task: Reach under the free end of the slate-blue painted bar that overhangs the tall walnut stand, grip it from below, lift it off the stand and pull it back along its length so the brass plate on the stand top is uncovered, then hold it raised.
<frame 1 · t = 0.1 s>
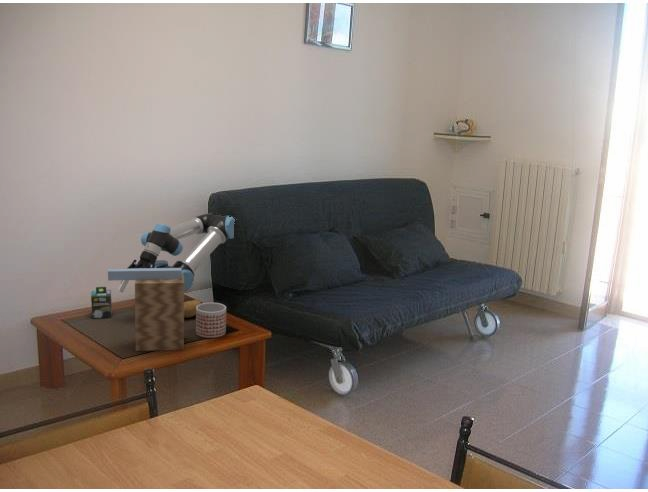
hand: (130, 294, 300), 15 cm above the table, tool tilted 35°, fingers open, 13 cm apart
potato: (189, 316, 320), on the table
stand: (160, 343, 284), on the table
planter: (210, 333, 300), on the table
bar: (145, 278, 276), point 30 cm above the table, touching stand
chalk box: (101, 315, 315), on the table
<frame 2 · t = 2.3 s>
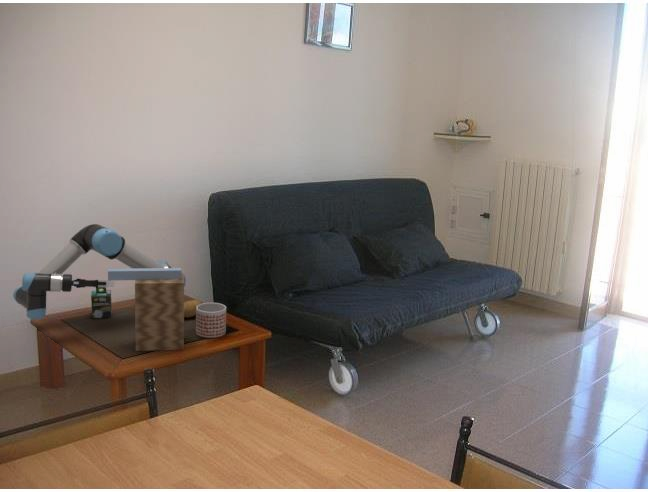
hand: (113, 284, 286), 24 cm above the table, tool horizontal, fingers open, 13 cm apart
nothing on the table moved.
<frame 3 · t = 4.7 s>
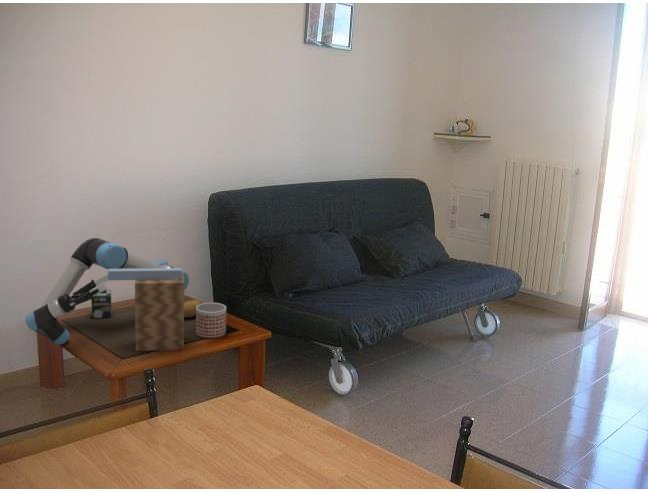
hand: (107, 280, 273), 29 cm above the table, tool pointing upward, fingers open, 13 cm apart
nothing on the table moved.
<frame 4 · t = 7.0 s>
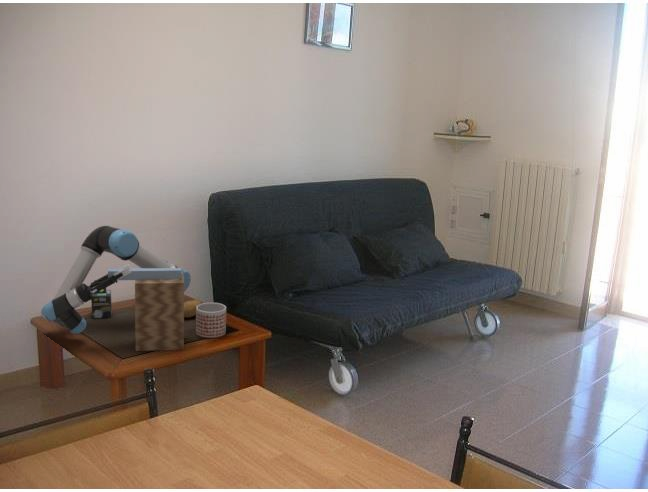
hand: (129, 268, 273), 35 cm above the table, tool pointing upward, fingers closed on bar, 4 cm apart
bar: (145, 278, 276), point 30 cm above the table, touching gripper, stand
everything else where it was.
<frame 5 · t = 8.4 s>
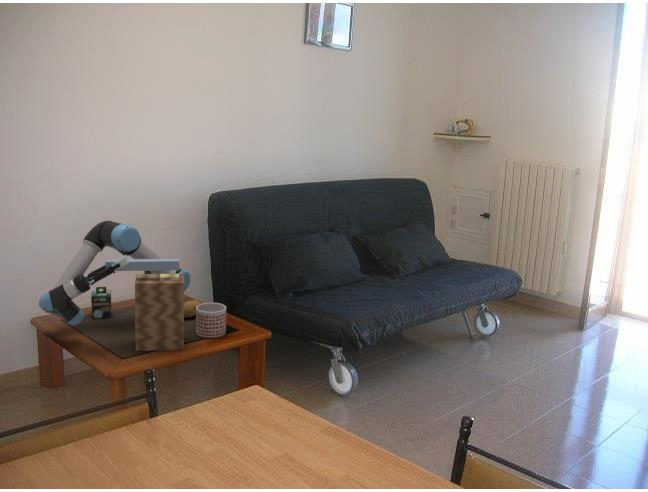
hand: (127, 258, 272), 39 cm above the table, tool pointing upward, fingers closed on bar, 4 cm apart
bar: (143, 269, 275), point 34 cm above the table, touching gripper
everything else where it was.
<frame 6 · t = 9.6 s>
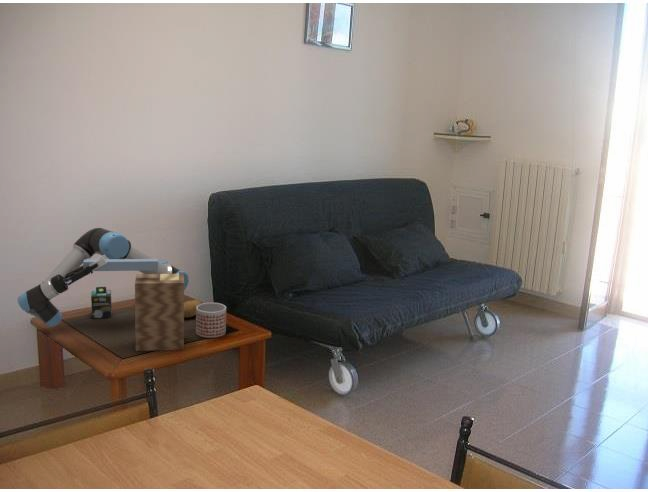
hand: (105, 258, 270), 39 cm above the table, tool pointing upward, fingers closed on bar, 4 cm apart
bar: (121, 269, 273), point 34 cm above the table, touching gripper
everything else where it was.
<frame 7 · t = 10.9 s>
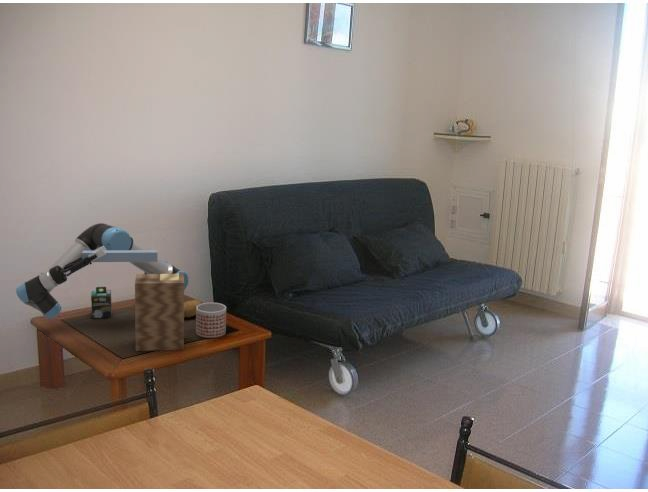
hand: (104, 250, 269), 43 cm above the table, tool pointing upward, fingers closed on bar, 4 cm apart
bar: (120, 260, 272), point 38 cm above the table, touching gripper
everything else where it was.
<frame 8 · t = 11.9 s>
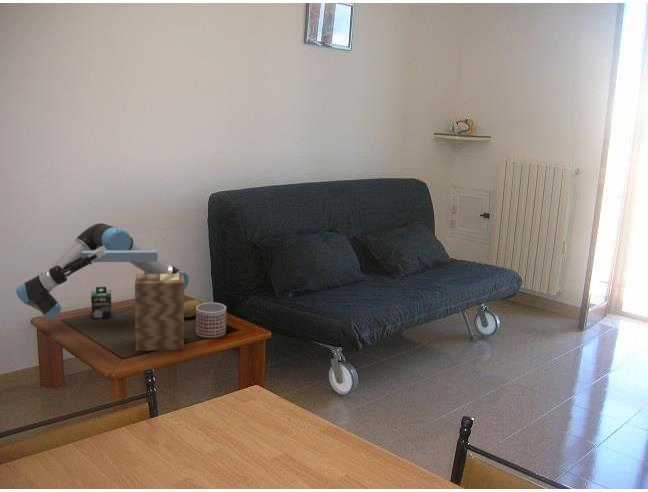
hand: (104, 250, 269), 43 cm above the table, tool pointing upward, fingers closed on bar, 4 cm apart
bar: (120, 260, 272), point 38 cm above the table, touching gripper
everything else where it was.
at the end: the gripper is holding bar; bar moved 12.7 cm from its start; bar point 38.0 cm above the table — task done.
